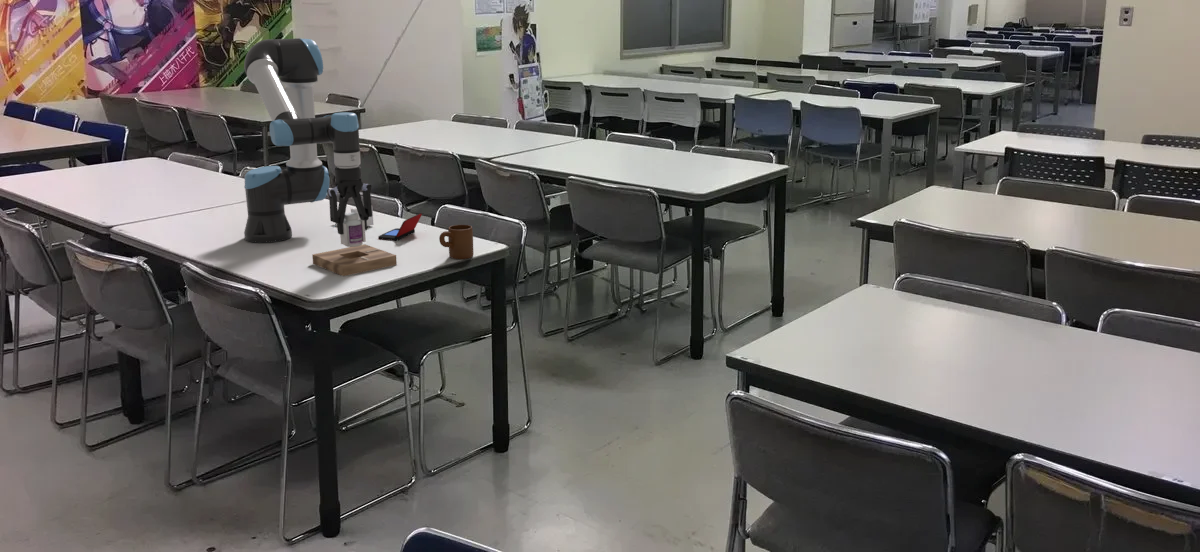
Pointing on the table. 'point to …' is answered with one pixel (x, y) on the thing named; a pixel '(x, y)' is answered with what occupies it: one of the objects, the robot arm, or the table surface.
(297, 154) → the robot arm
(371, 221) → the bracket
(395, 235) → the handheld game console
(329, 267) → the board
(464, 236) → the mug
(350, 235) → the pill bottle
